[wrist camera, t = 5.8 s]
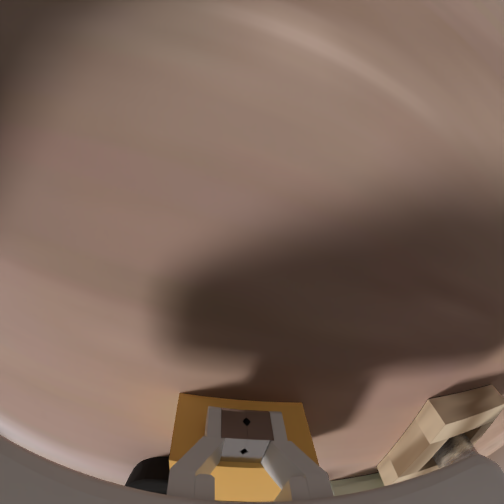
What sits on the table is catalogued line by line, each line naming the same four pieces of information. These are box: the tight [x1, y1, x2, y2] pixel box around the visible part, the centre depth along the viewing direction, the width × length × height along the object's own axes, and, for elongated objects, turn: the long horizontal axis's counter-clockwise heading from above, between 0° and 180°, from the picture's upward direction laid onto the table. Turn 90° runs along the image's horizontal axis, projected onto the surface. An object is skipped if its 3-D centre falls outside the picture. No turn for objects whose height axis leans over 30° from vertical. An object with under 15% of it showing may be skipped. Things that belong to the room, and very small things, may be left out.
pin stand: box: [377, 384, 504, 486], centre depth 15 cm, size 8×8×2 cm
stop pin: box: [433, 433, 479, 469], centre depth 12 cm, size 4×4×9 cm
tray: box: [330, 473, 384, 496], centre depth 17 cm, size 11×8×3 cm
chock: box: [169, 393, 319, 502], centre depth 11 cm, size 6×4×4 cm, turn 80°
